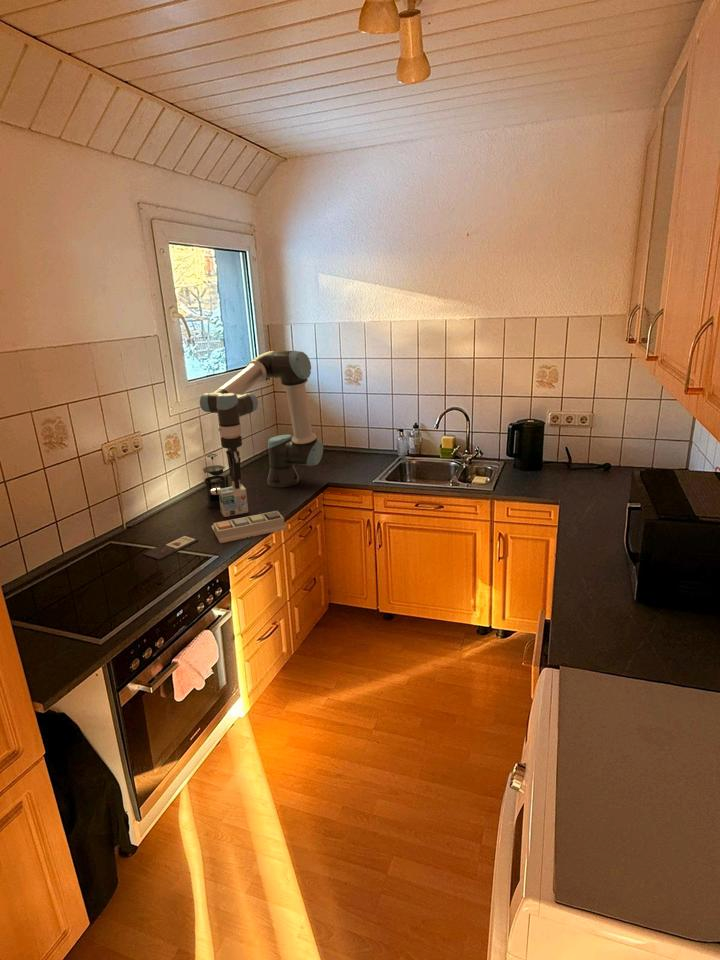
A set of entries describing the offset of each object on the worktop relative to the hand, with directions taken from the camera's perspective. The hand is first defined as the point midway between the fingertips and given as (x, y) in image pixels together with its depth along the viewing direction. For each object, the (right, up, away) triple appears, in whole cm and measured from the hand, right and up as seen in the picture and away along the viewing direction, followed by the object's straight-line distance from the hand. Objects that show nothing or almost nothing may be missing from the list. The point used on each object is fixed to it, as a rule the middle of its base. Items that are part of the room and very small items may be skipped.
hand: (237, 495), depth 215 cm
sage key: (+6, -10, +7) cm, 14 cm away
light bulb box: (-6, -8, +24) cm, 27 cm away
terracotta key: (-5, -12, +1) cm, 14 cm away
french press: (-16, -5, +34) cm, 38 cm away
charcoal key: (+12, -9, +9) cm, 18 cm away
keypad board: (+3, -13, +8) cm, 16 cm away
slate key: (0, -11, +4) cm, 12 cm away
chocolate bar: (-23, -20, -7) cm, 31 cm away
